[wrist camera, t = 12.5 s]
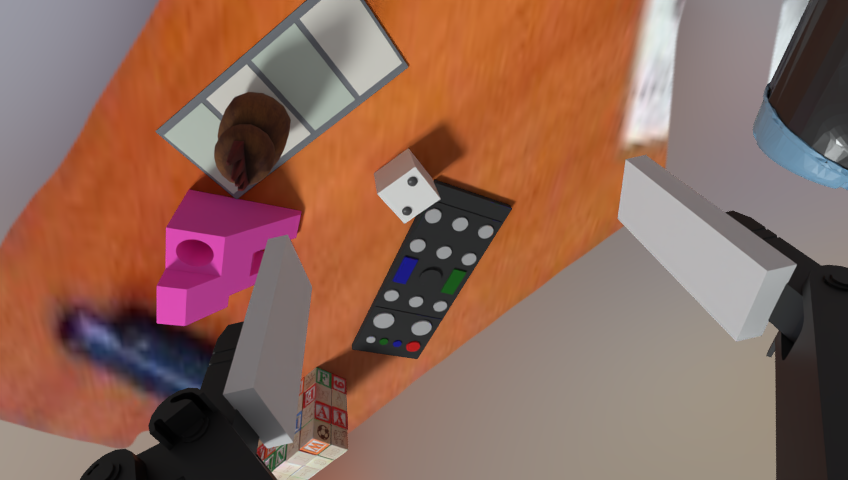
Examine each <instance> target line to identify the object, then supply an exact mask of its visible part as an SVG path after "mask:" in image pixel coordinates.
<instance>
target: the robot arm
mask: <svg viewBox="0 0 848 480" xmlns="http://www.w3.org/2000/svg"><path fill="white" fill-rule="evenodd" d="M763 97H764V100H763V102H762V105H761V107H760V110H759V112H758V115H757V117H756V120H755V122H754V126H753V135H754V137H755V139H756V141H757V145H758V146H759V148H760V149H761V150H762V151H763V152H764V153H765V154H766V155H767V156H768V157H769V158H770V159H772V160H773V161H774V162H776V163H777V164H779V165H780V166H782V167H784V168H785V169H787V170H789V171H791V172H793V173H795V174H797V175H799V176H801V177H804V178H805V179H808V180H810V181H813V182H815V183H818V184H821V185H824V186H828V187H831V188H835V189H836V188H839V187H843V188H844V189H846V190H848V0H810V1H809V3H808V5H807V7H806V9H805V11H804V13H803V15H802V18H801V20H800V22H799V24H798V26H797V28H796V30H795V32H794V34H793V36H792V38H791V41H790V43H789V45H788V47H787V49H786V51H785V53H784V55H783V57H782V59H781V62H780V64H779V66H778V68H777V70H776V72H775V74H774V76H773V78H772V80H771V82H770V83H769V84H768V85H767V86H766V88H765V91H764V95H763ZM618 219H619V220H620V221H621V223H622V224H623V225H624V226H625V227H626V228H627V229H628V230H629V231H630V232H631V233H632V234H633V235H634V236H635V237H636V238H637V239H638V240H639V241H640V242H641V243H642V244H643V245H644V246H645V247H646V248H647V249H648V250H649V252H650V253H651V254H652V255H653V256H654V257H655V258H656V259H657V260H658V261H659V262H660V263H661V264H662V265H663V266H664V267H665V268H666V269H667V270H668V271H669V272H670V273H671V274H672V275H673V276H674V277H675V278H676V280H677V281H678V282H679V283H680V284H681V285H682V286H683V287H684V288H685V289H686V290H687V291H688V292H689V293H690V294H691V295H692V296H693V297H694V298H695V299H696V300H697V301H698V302H699V303H700V304H701V305H702V306H703V307H704V309H705V310H707V312H708V313H709V314H710V315H711V316H712V317H713V318H714V319H715V320H716V321H717V322H718V323H719V324H720V325H721V326H722V327H723V328H724V329H725V330H726V331H727V332H728V333H729V334H730V336H731V337H732V338H734V340H735V341H740V340H744V339H749V338H753V337H758V336H762V334H763V332H764V330H765V328H766V326H767V324H768V322H771V323H772V324H773V325H774V326H775V327H776V328H777V329H778V330H779V332H778V333H777V335H776V337H775V339H774V341H773V343H772V345H771V346H770V348H769V350H768V353H767V356H769V357H771V356H772V355H773V353H774V352H775V357H776V358H775V360H776V361H775V367H776V368H775V369H776V478H777V479H776V480H848V268H846V267H842V266H833V265H824V266H821V265H819V264H818V263H816V262H815V261H813V260H812V259H811V258H809V257H807V256H806V255H804V254H803V253H802V252H800V251H799V250H797V249H796V248H795V247H793V246H792V245H790V244H789V243H787V242H786V241H784V240H783V239H781V238H780V237H779V238H777V235H776V234H774V233H773V232H771V231H770V230H766V229H765V227H764V226H762V225H761V224H760V223H758V222H757V221H755V220H754V219H752V218H751V217H748V216H745V215H743V214H740V213H738V212H735V211H729V212H724V211H722V210H721V209H720V208H718V207H717V206H715V205H714V204H713V203H711V202H710V201H708V200H707V199H706V198H704V197H703V196H702V195H700V194H699V193H697V192H696V191H695V190H693V189H692V188H690V187H689V186H688V185H686V184H685V183H683V182H682V181H681V180H679V179H678V178H677V177H675V176H674V175H672V174H671V173H670V172H668V171H667V170H665V169H664V168H663V167H661V166H660V165H659V164H657V163H656V162H654V161H653V160H652V159H650V158H649V157H647V156H646V155H643V156H639V157H634V158H630V159H626V162H625V169H624V177H623V184H622V191H621V198H620V206H619V213H618ZM311 292H312V286H311V284H310V281H309V279H308V277H307V275H306V273H305V271H304V268H303V266H302V264H301V262H300V260H299V258H298V256H297V253H296V251H295V249H294V247H293V245H292V243H291V240H290V238H289V236H288V235H284V236H279V237H275V238H270V239H268V240H267V244H266V247H265V251H264V254H263V258H262V261H261V265H260V268H259V271H258V275H257V278H256V282H255V285H254V289H253V292H252V296H251V299H250V302H249V306H248V309H247V313H246V316H245V320H244V322H239V323H235V324H231V325H228V326H227V327H226V329H225V330H224V331H223V333H222V334H221V335H220V336H219V338H218V339H217V342H216V345H215V348H214V351H213V356H212V357H211V360H210V363H209V367H208V368H207V371H206V374H205V377H204V380H203V383H202V386H201V389H200V390H199V389H198V388H187V389H183V390H180V391H178V392H176V393H174V394H173V395H171V396H169V397H168V398H167V399H166V400H164V401H163V402H162V403H161V404H160V405H159V406H158V407H157V409H156V410H155V412H154V413H153V415H152V416H151V420H150V423H149V431H150V434H151V435H152V436H153V437H154V438H155V439H157V440H158V441H159V442H160V443H159V444H157V445H155V446H154V447H151V448H150V449H148V450H146V451H144V452H142V453H140V454H138V455H135V454H133V453H132V452H131V451H128V450H126V449H119V450H115V451H112V452H110V453H108V454H106V455H104V456H102V457H101V458H100V459H98V460H97V461H96V462H94V463H93V464H92V465H91V466H90V467H89V468H88V469H87V470H86V472H85V473H84V474H83V476H82V477H81V479H80V480H278V479H277V478H276V477H275V476H274V474H273V473H272V472H271V471H270V469H269V468H268V467H267V466H266V464H265V463H264V462H263V461H262V459H261V458H260V457H259V456H258V454H257V448H258V442H259V439H260V440H261V442H262V443H263V444H264V445H265V446H266V448H271V447H276V446H280V445H285V444H289V443H293V441H294V433H295V425H296V416H297V408H298V400H299V391H300V383H301V375H302V367H303V358H304V350H305V342H306V333H307V325H308V317H309V309H310V300H311Z"/></svg>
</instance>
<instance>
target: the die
mask: <svg viewBox="0 0 848 480" xmlns="http://www.w3.org/2000/svg"><path fill="white" fill-rule="evenodd" d="M374 177H375V183H376V189H377V194H378V195H379V196H380V197H381V199H382V200H383V201H384V202H385V203H386V204H387V205H388V206H389V207H390V208H391V209H392V211H393V212H394V213H395V214H396V215H397V216H398V217H399V218H400V219H401V220H402V222H403V223H404V224H405V223H406V222H408V221H409V220H411V219H412V218H414V217H415V216H416V215H418V214H419V213H421V212H422V211H424V210H425V209H427V208H428V207H430V206H431V205H433V204H434V203H436V202H437V201H438V200H440V199H441V198H440V196H439V194H438V191H437V189H436V186H435V184H434V181H433V179H432V178H431V176H430V175H429V174H428V172H427V171H426V170H425V169H424V167H423V166H422V165H421V163H420V162H419V161H418V160H417V158H416V157H415V156H414V154H413V153H412V152H411V151H410V149H409V148H408V149H406V150H405V151H404V152H402V153H401V154H400V155H398V156H397V157H396V158H394V159H393V160H391V161H390V162H389V163H387V164H386V165H385V166H383V167H382V168H380V169H379V170H378V171H376V172H375V173H374Z"/></svg>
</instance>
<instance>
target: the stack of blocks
mask: <svg viewBox="0 0 848 480" xmlns="http://www.w3.org/2000/svg"><path fill="white" fill-rule="evenodd" d="M346 395H347V391H346V379H343V378H341V377H339V376H336V375H334V374H331V373H329V372H327V371H324V370H322V369H320V368H318V367H316V368H315V369H314V370H312V371H311V372H310V373H309V374H308V375H306V376H305V377H303V378H302V379H301V383H300V391H299V400H298V408H297V416H296V425H295V433H294V441H293V443H289V444H285V445H280V446H276V447H271V448H266V446H265V445H264V444H263V443H262V442H261V440H260V439H259V442H258V448H257V454H258V456H259V457H260V458H261V459H262V461H263V462H264V463H265V464H266V466H267V467H268V468H269V469H270V471H271V472H272V473H273V474H274V476H275V477H276V478H277V479H278V480H308V479H309V478H311V477H312V476H313V475H314V474H316V473H317V472H319V471H320V470H321V469H323V468H324V467H325V466H327V465H328V464H329V463H331V462H332V461H333V460H335V459H337V458H338V457H339V456H341V455H342V454H343V453H345V452H346V451H347V450H348V439H347V438H348V437H347V430H348V416H347V399H346Z"/></svg>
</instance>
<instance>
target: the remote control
mask: <svg viewBox="0 0 848 480" xmlns="http://www.w3.org/2000/svg"><path fill="white" fill-rule="evenodd" d="M434 184H435V186H436V189H437V191H438V194H439V196H440V198H441V199H440V200H438V201H437V202H436V203H434V204H433V205H431V206H430V207H428V208H427V209H425V210H424V211H422V212H421V213H419V214H418V215H416V217H415V219H414V221H413V223H412V225H411V227H410V229H409V231H408V233H407V235H406V237H405V239H404V241H403V243H402V245H401V247H400V249H399V251H398V253H397V255H396V257H395V259H394V261H393V263H392V265H391V267H390V269H389V271H388V273H387V275H386V277H385V279H384V281H383V283H382V285H381V287H380V289H379V291H378V293H377V295H376V297H375V299H374V301H373V303H372V305H371V307H370V309H369V311H368V313H367V315H366V317H365V319H364V321H363V323H362V325H361V327H360V329H359V331H358V333H357V335H356V337H355V339H354V341H353V343H352V349H353V350H360V351H366V352H373V353H380V354H386V355H393V356H400V357H407V358H413V359H418V357H419V356H420V354H421V352H422V351H423V349H424V348H425V346H426V345H427V343H428V341H429V340H430V338H431V337H432V335H433V333H434V332H435V330H436V329H437V327H438V326H439V324H440V322H441V321H442V319H443V318H444V316H445V314H446V313H447V311H448V310H449V308H450V306H451V305H452V303H453V302H454V300H455V299H456V297H457V295H458V294H459V292H460V291H461V289H462V287H463V286H464V284H465V283H466V281H467V279H468V278H469V276H470V275H471V273H472V272H473V270H474V268H475V267H476V265H477V264H478V262H479V260H480V259H481V257H482V256H483V254H484V252H485V251H486V249H487V248H488V246H489V245H490V243H491V241H492V240H493V238H494V237H495V235H496V233H497V232H498V230H499V229H500V227H501V226H502V224H503V222H504V221H505V219H506V218H507V216H508V214H509V213H510V211H511V210H512V208H511V206H510V205H508V204H505V203H502V202H499V201H496V200H493V199H490V198H487V197H484V196H481V195H478V194H476V193H473V192H470V191H467V190H464V189H461V188H458V187H455V186H452V185H449V184H446V183H443V182H440V181H437V180H435V179H434Z"/></svg>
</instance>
